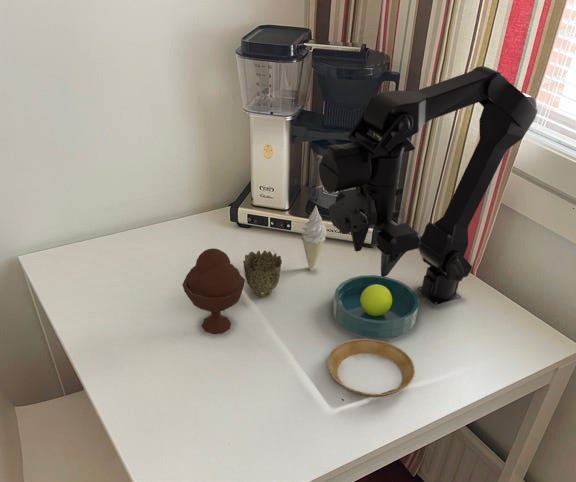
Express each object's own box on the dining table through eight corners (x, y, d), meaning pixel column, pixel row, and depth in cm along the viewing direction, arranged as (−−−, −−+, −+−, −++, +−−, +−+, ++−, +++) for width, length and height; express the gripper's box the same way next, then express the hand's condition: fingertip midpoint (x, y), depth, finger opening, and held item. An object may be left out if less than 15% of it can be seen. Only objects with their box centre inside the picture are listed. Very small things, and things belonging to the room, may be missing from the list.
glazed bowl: (386, 286, 126) (389, 268, 123) (431, 328, 116) (435, 310, 113) (318, 303, 121) (320, 285, 118) (359, 349, 110) (361, 331, 108)
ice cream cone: (327, 269, 130) (333, 203, 120) (315, 280, 127) (320, 213, 117) (307, 262, 132) (311, 197, 122) (294, 273, 129) (297, 206, 119)
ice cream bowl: (175, 325, 114) (166, 254, 104) (219, 301, 120) (215, 232, 110) (213, 351, 109) (208, 279, 99) (257, 324, 115) (257, 254, 105)
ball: (379, 301, 121) (383, 275, 117) (395, 318, 117) (400, 291, 113) (352, 308, 119) (356, 282, 115) (368, 325, 115) (372, 299, 111)
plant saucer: (365, 339, 113) (367, 327, 111) (429, 379, 105) (432, 367, 103) (308, 373, 105) (309, 362, 103) (373, 419, 97) (375, 407, 96)
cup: (276, 307, 119) (277, 272, 114) (239, 302, 120) (238, 267, 115) (284, 287, 125) (285, 252, 119) (249, 282, 126) (248, 247, 120)
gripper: (310, 165, 103) (307, 247, 113) (367, 213, 90) (357, 300, 101) (368, 155, 106) (359, 235, 117) (430, 200, 94) (414, 285, 104)
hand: (370, 263), depth 110 cm, fingers open, 9 cm apart
